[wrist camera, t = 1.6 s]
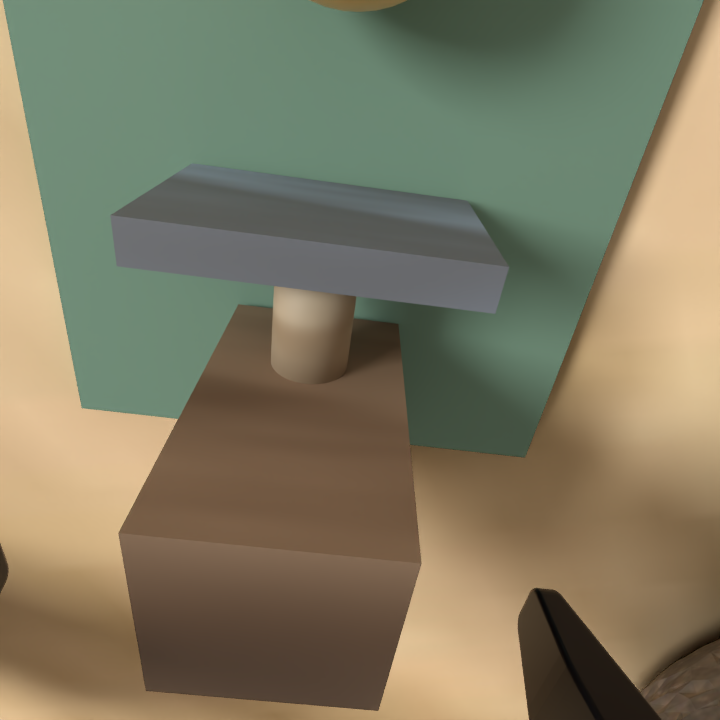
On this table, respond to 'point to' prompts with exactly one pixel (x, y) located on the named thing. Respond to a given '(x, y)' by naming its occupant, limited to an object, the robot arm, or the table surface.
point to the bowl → (688, 687)
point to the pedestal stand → (290, 434)
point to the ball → (358, 4)
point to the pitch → (346, 169)
